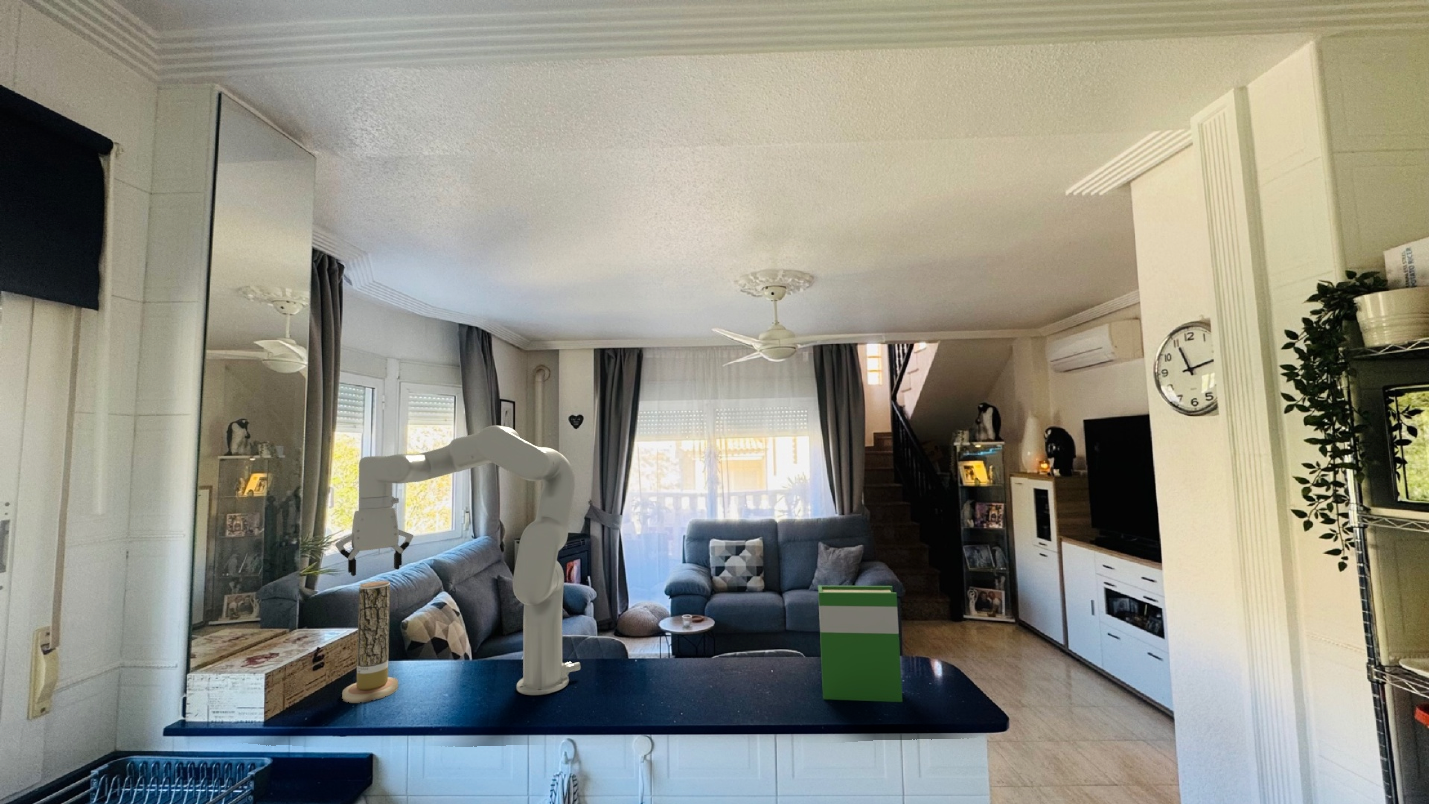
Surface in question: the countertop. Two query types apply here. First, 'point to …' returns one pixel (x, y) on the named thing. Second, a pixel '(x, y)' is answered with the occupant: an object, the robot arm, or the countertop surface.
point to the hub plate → (369, 692)
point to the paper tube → (373, 635)
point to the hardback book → (860, 643)
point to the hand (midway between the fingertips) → (375, 572)
